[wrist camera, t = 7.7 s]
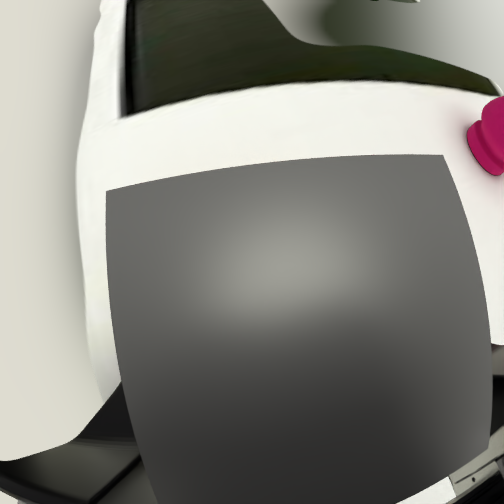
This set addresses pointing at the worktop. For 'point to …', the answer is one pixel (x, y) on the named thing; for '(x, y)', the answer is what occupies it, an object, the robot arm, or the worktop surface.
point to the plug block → (300, 330)
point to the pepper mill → (489, 137)
